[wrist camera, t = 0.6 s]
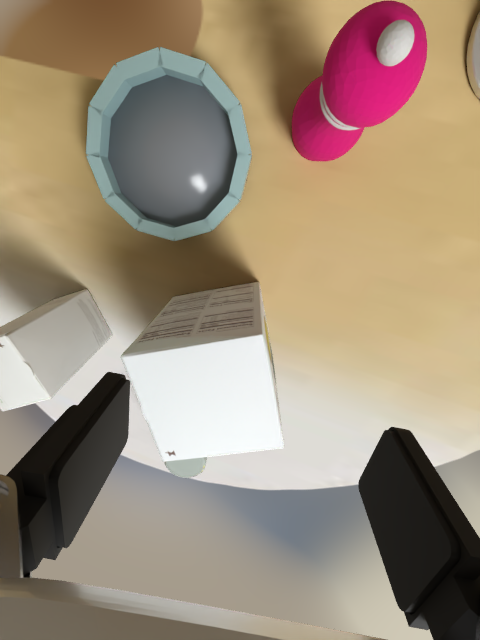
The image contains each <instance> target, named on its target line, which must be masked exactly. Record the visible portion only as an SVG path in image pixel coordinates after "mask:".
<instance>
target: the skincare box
mask: <svg viewBox="0 0 480 640" xmlns="http://www.w3.org/2000/svg"><path fill="white" fill-rule="evenodd" d="M111 337H112V333H111V331H110V329H109V327H108V325H107V324H106V322H105V320H104V318H103V316H102V314H101V313H100V311H99V309H98V307H97V305H96V303H95V302H94V300H93V298H92V296H91V294H90V293H89V291H88V289H85V290H81V291H78V292H75V293H72V294H69V295H66V296H63V297H60V298H57V299H54V300H51V301H49V302H47V303H45V304H44V305H42V306H40V307H38V308H36V309H34V310H32V311H30V312H28V313H26V314H24V315H22V316H21V317H19V318H17V319H15V320H13V321H11V322H9V323H7V324H5V325H3V326H2V327H0V409H1V410H2V411H6V410H10V409H14V408H18V407H22V406H25V405H29V404H33V403H37V402H41V401H45V400H48V399H51V398H52V397H53V396H54V395H55V394H56V393H57V392H58V391H59V390H60V389H61V388H62V387H63V386H64V385H65V384H66V383H67V382H68V381H69V380H70V379H71V378H72V377H73V376H74V374H75V373H76V372H77V371H78V370H79V369H80V368H81V367H82V366H83V365H84V364H85V363H86V362H87V361H88V360H89V359H90V358H91V357H92V356H93V355H94V354H95V353H96V352H97V351H98V350H99V349H100V348H101V347H102V346H103V345H104V344H105V343H106V342H107V341H108V340H109V339H110V338H111Z"/></svg>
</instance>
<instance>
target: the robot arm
mask: <svg viewBox="0 0 480 640" xmlns="http://www.w3.org/2000/svg"><path fill="white" fill-rule="evenodd" d="M467 73H468V77H469V81H470V85H471V87H472V89H473V91H474V92H475V94H476V96H477V97H478V98H479V99H480V12H479V13H478V16H477V18H476V21H475V23H474V26H473V28H472V31H471V35H470V39H469V43H468V50H467ZM129 395H130V381H129V380H126V377H125V375H122V374H117V373H112V372H107V373H106V374H105V375H104V376H103V378H102V379H101V380H100V381H99V382H98V383H97V384H96V385H95V387H94V388H93V389H92V390H91V391H90V392H89V393H88V394H87V396H86V397H85V398H84V399H83V400H82V401H81V402H80V403H79V405H78V406H77V405H73V406H71V407H69V408H68V409H67V410H66V411H65V412H64V413H63V414H62V416H61V417H60V418H59V419H58V420H57V421H56V422H55V423H54V424H53V425H52V426H51V427H50V429H49V430H48V431H47V432H46V433H45V434H44V435H43V436H42V437H41V439H40V440H39V441H38V442H37V443H36V444H35V445H34V446H33V447H32V448H31V449H30V451H28V453H27V454H26V455H25V456H24V457H23V458H22V459H21V460H20V461H19V462H18V464H16V465H15V467H14V468H13V469H12V470H11V471H10V472H9V473H8V474H7V475H6V476H5V475H0V640H385V639H380V638H375V637H369V636H365V635H359V634H354V633H349V632H344V631H339V630H334V629H329V628H323V627H318V626H313V625H308V624H302V623H297V622H292V621H286V620H281V619H276V618H270V617H265V616H259V615H254V614H248V613H243V612H238V611H232V610H227V609H222V608H216V607H211V606H206V605H200V604H195V603H189V602H183V601H178V600H173V599H167V598H162V597H156V596H150V595H144V594H139V593H133V592H128V591H122V590H117V589H110V588H103V587H98V586H91V585H85V584H79V583H73V582H66V581H58V580H48V579H38V578H32V571H33V570H34V569H36V568H37V567H38V565H39V563H40V562H41V560H42V559H43V558H47V559H53V560H56V558H57V556H58V554H59V553H60V551H61V549H62V547H64V548H67V547H69V545H70V544H71V542H72V541H73V539H74V537H75V535H76V534H77V532H78V530H79V528H80V526H81V524H82V523H83V521H84V519H85V517H86V516H87V514H88V512H89V510H90V508H91V506H92V505H93V503H94V501H95V499H96V497H97V496H98V494H99V492H100V490H101V488H102V487H103V485H104V483H105V481H106V479H107V477H108V476H109V474H110V472H111V470H112V468H113V467H114V465H115V463H116V461H117V459H118V457H119V455H120V454H121V452H122V450H123V448H124V447H125V445H126V442H127V439H128V426H129ZM359 492H360V494H361V497H362V500H363V503H364V506H365V509H366V512H367V515H368V518H369V521H370V524H371V527H372V530H373V533H374V536H375V539H376V542H377V545H378V548H379V551H380V554H381V557H382V560H383V563H384V566H385V569H386V572H387V575H388V578H389V581H390V584H391V587H392V590H393V593H394V596H395V599H396V602H397V604H398V606H399V608H400V609H401V610H402V611H404V613H405V616H406V619H407V622H408V625H409V626H410V627H414V628H420V629H425V630H428V629H430V632H431V634H432V637H433V639H434V640H480V538H479V537H478V535H477V534H476V532H475V530H474V529H473V527H472V526H471V524H470V523H469V521H468V519H467V518H466V516H465V515H464V513H463V512H462V510H461V509H460V507H459V506H458V504H457V502H456V501H455V499H454V498H453V496H452V495H451V493H450V491H449V490H448V488H447V487H446V485H445V484H444V482H443V481H442V479H441V478H440V476H439V474H438V473H437V472H436V470H435V468H434V467H433V465H432V463H431V462H430V460H429V459H428V457H427V456H426V454H425V453H424V451H423V449H422V448H421V446H420V445H419V443H418V442H417V440H416V439H415V437H414V435H413V434H412V433H411V431H409V430H406V429H401V428H396V427H391V428H389V430H385V431H384V433H383V434H382V436H381V438H380V440H379V442H378V444H377V446H376V448H375V450H374V452H373V454H372V456H371V458H370V460H369V462H368V464H367V466H366V468H365V470H364V472H363V474H362V475H361V477H360V480H359Z"/></svg>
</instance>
